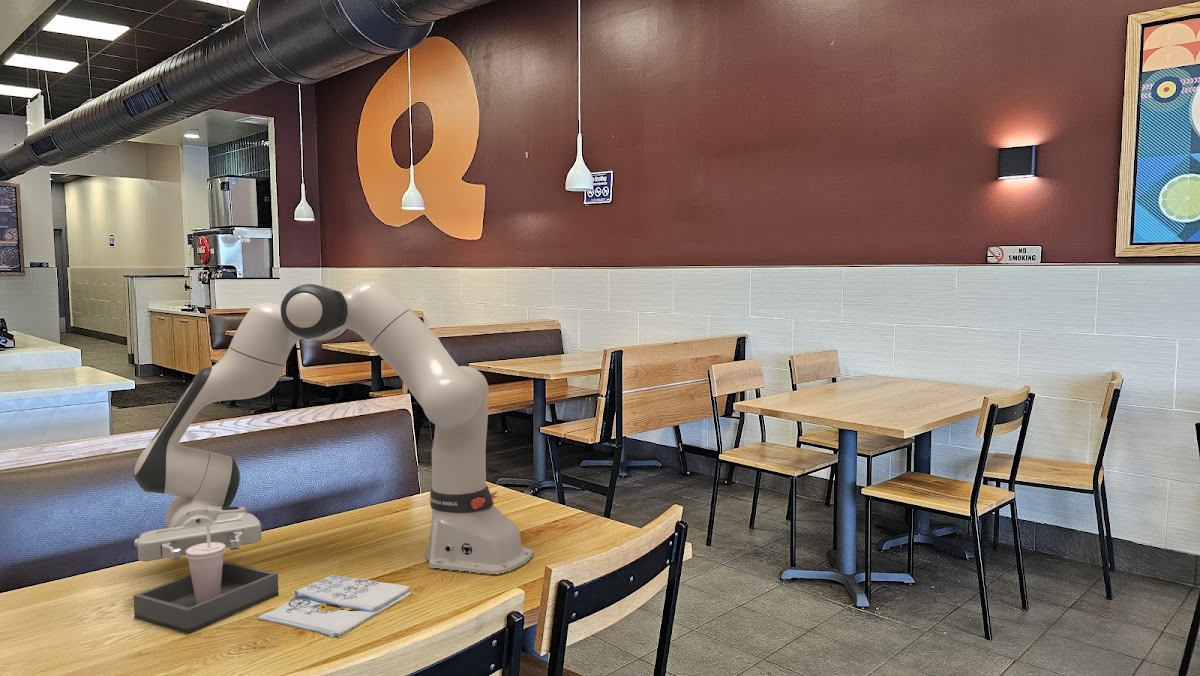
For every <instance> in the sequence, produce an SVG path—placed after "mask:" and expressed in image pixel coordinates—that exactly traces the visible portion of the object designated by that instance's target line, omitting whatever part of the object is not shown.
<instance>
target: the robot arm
mask: <svg viewBox="0 0 1200 676" xmlns="http://www.w3.org/2000/svg"><path fill="white" fill-rule="evenodd" d="M349 330H351V331H353V332H355V333H356V334H358V335H359V336H360V337H361V338H362V339H363V340H364V341H365V343H367V345H369V346H370V347H371V349H373V350H374V352H376V353H377V354H378V356H380V358H381V359H382V360H383V361H384V362H385V363H386V364H387V365H388V366H389V367H390V368H391V369H392V370H393V371H394V372H395V374H397V375H398V377H399V378H400V379H401V380H402V382H403V383H404V385H405V386H406V387H407V389H408V390H409V392H410V393H411V395H412V396H413V397H414V399H415V400H416V402H417V403H418V404H419V405H420V406H421V408H422V410H423V412H424V414H425V416H426V418H427V419H428V420H429V421H430V422H431V423H432V424H433V425H435V426H434V436H433V437H434V438H433V443H432V446H431V447H432V449H431V481H432V482H431V486H432V487H431V489H430V490H429V491H430V493H429V496H430V497H429V502H430V503H429V504H430V508H431V513H432V514H431V526H430V533H429V539H428V545H427V548H426V553H425V559H426V558H427V559H428V560H429V561H428V560H427V559H426V560H427V561H428V567H429V568H430V567H431V568H430V569H433V568H440V569H439V570H442V569H450V570H449V571H452V570H461V571H469V572H468V573H471V572H478V573H477V574H480V573H490V574H491V573H493V574H496V573H502V572H505V571H509V570H512V569H515V568H517V567H519V566H520V567H522V566H524V565H525V564H527V563H528V562H529V561H531V559H532V558H533V556H534V554H533V553H534V552H533V550H532V549H531V548H529V547H526V546H523V545H522V537H521V533H520V530H519V526H517V525H516V524H515V523H514V522H513V521H512V520H510V519H509V518H508V517H507V516H506V515H505V514H504V513H503V512H502V511H501V510H500V509H498V508H497V506H495V505H494V504H495V503H494V500H493V499H495V498H497V497H498V495H497V494H498V491H494V492H492V493H491V491H490V489H489V487H488V485H487V474H486V473H487V468H486V466H487V465H486V464H487V463H486V462H487V461H486V460H487V458H486V453H487V452H486V447H487V435H488V420H489V419H488V418H489V399H490V398H489V394H490V393H489V391H490V389H489V384H488V382H487V379H486V377H485V376H484V375H483V374H482V372H481V371H479V370H478V369H476V368H474V367H472V366H467V365H460V366H459V365H458V364H457V362H456V361H455V360H454V359H453V358H452V356H451V355H450V354H449V352H448V350H446V348H445V347H444V345H443V344H442V343H441V341H440V339H439V337H438V336H437V334H435V333H434V332H433V331H432V330H431V329H430V328H429V327H428V325H427V324H426V323H425V322H424V321H423V320H421V318H420V317H418V315H417V314H416V313H415V312H414V311H413V310H412V309H411V308H410V307H408V305H407V304H406V303H404V302H403V301H402V300H401V299H400V298H399V297H397V296H396V294H394V293H392V292H391V291H390V290H389V289H387V288H386V287H385V286H383V285H381V284H380V283H378V282H376V281H365V282H362V283H359V284H357V285H356V286H354V287H353V288H351V290H349V291H348V292H345V293H343V292H341V291H339V290H336V289H332V288H330V287H327V286H324V285H319V284H313V283H305V284H302V285H298V286H296V287H294V288H291V290H290V291H288V292H287V293H286V295H285V296H284V297H283V299H282V302H281V304H278V303H275V302H274V303H273V302H267V301H265V302H258V303H256V304H254V305H253V306H251V307H250V309H249V310H248V311H247V313H246V314H245V316H244V317H243V319H242V321H241V322H240V324H239V326H238V327H237V329H236V331H235V333H234V335H233V337H232V339H231V341H230V344H229V346H228V349H227V351H226V352H225V354H224V355H223V357H221V358H220V360H219V361H217V362H216V363H215V364H214V365H212V366H208V367H203V368H202V369H200V371H198V373H196V375H194V377H193V378H192V380H191V381H190V383H189V384H188V386H187V387H186V389H184V391H183V393H182V394H181V396H180V397H179V398H178V400H177V402H176V403H175V405H174V406H173V408H172V409H171V411H170V413H169V414H168V416H167V417H166V418H165V420H164V421H163V423H162V425H161V426H160V428H159V429H158V431H157V432H156V434H155V435H154V437H153V438H151V439H152V440H151V441H150V442H149V444H148V445H147V446H146V447H145V448H144V449H143V451H142V452H141V453H140V454H139V456H138V458H137V460H136V463H135V466H134V471H133V477H134V480H135V481H136V482H137V484H138V486H139V487H140V488H141V489H142V490H143V491H144V492H145V493H154V494H162V495H163V494H167V495H172V496H175V497H174V498H173V499H172V500H171V501H170V503H169V505H168V507H167V510H166V515H165V516H166V517H165V520H166V528H160V529H153V530H152V529H151V530H149V531H145V532H143V533H141V534H140V535H139V536H138V538H135V539H134V541H133V544H134V546H135V547H136V548H137V557H138V561H140V562H151V561H155V560H156V561H157V560H163V559H170V561H176V560H181V556H185V555H186V550H187V549H188V548H190V547H192V546H194V545H198V544H202V543H207V530H206V524H207V523H210V541H211V542H218V543H223V544H225V548H226V549H227V548H229V550H230V551H235V550H238V549H240V548H241V547H240V546H244V545H251V544H257V543H259V542H261V541H262V524H261V521H260V520H259V519H258V518H257V517H256V516H255V515H253V514H252V513H249V512H247V509H246V507H245V506H231V505H232V503H233V502H234V500H235V498H236V495H237V493H238V489H239V485H240V481H241V472H240V468H239V466H238V463H237V462H236V460H235V459H234V457H233V456H229V455H226V454H222V453H218V452H214V451H209V450H205V449H200V448H196V447H191V446H187V445H183V444H181V443H180V441H181V439H182V438H183V436H184V435H185V433H186V432H187V430H188V429H189V427H190V425H191V424H192V423H193V421H194V420H195V418H196V416H197V415H198V413H199V412H200V411H201V410H202V409H203V408H205V407H206V406H208V405H209V404H213V403H217V402H223V401H235V400H237V401H238V400H247V399H252V398H253V399H254V398H257V397H260V396H263V395H265V394H266V393H268V392H270V391H271V390H273V388H275V386H276V384H277V382H278V380H279V378H280V377H281V374H282V373H283V370H284V368H285V366H286V363H287V360H288V358H289V356H290V353H291V351H292V349H293V347H294V346H295V344H297V343H298V342H299V341H301V340H303V339H305V340H307V339H308V340H312V341H331V340H332V341H333V340H336V339H339V338H340V337H342V336H344V335H345V334H346V333H347V332H348V331H349ZM532 555H533V556H532ZM531 557H532V558H531ZM530 558H531V559H530ZM528 560H529V561H528ZM527 561H528V562H527ZM526 562H527V563H526ZM523 564H524V565H523ZM521 565H522V566H521ZM520 567H519V568H520ZM517 569H518V568H517ZM515 570H516V569H515ZM461 571H460V572H461ZM512 571H513V570H512ZM509 572H510V571H509ZM490 574H489V575H490Z"/></svg>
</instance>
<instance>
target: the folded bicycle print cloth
mask: <svg viewBox="0 0 1200 676" xmlns="http://www.w3.org/2000/svg"><path fill="white" fill-rule="evenodd" d="M410 589H411V586H408V585H402V584H398V583H392V582H391V583H390V582H382V581H376V580H369V579H364V578H357V577H348V576H343V575H338V574H331V575H328V576H325V577H324V578H321V579H319V580H318V581H315V582H313V583H310V584H308V585H306V586H304V587H301V588H298V589H297V590H294V596H293V597H292V598H291V599H289V602H287V603H284V604H282V605H280V606H278V607H276V608H274V609H273V610H270V611H269V612H265V613H263V614H260V615H259V616H257V620H258V621H262V622H269V623H274V624H279V625H283V626H286V627H287V626H288V627H292V628H297V629H301V630H304V629H305V631H309V630H310V632H314V631H315V632H314V633H318V632H319V634H320V633H321V635H323V634H325V635H324V636H327V635H329V636H328V637H330V638H331V637H333V638H336V637H335V636H338V637H337V638H339V636H341V635H343V634H344V633H346V632H347V631H348V630H350V629H352V628H353V627H355V626H357V625H359V624H360V623H362V622H363V621H365V620H367V619H369V618H371V617H372V618H374V617H375V616H374V615H376V614H378V613H380V612H381V613H383V612H384V611H383V610H385V609H387V608H388V609H390V608H391V607H390V606H392V605H394V604H395V603H397V602H399V601H400V600H402V599H403V598H405V597H407V596H408V595H410V594H412V593H413V592H411V591H409V590H410ZM324 603H325V604H328V605H327V606H336V605H337V607H338V608H340V607H343V608H342V609H344V608H350V609H354V610H355V609H358V611H346V610H339V609H336V610H337V611H321V610H320V607H319V606H320V605H321V604H324ZM399 603H400V602H399ZM397 604H398V603H397ZM395 605H396V604H395ZM395 605H394V606H395ZM389 607H390V608H389ZM392 607H393V606H392ZM388 609H387V610H388ZM382 611H383V612H382ZM385 611H386V610H385ZM381 613H380V614H381ZM378 615H379V614H378ZM373 616H374V617H373ZM376 616H377V615H376ZM372 618H371V619H372ZM369 620H370V619H369ZM367 621H368V620H367ZM365 622H366V621H365ZM362 624H363V623H362ZM360 625H361V624H360ZM360 625H359V626H360ZM357 627H358V626H357ZM355 628H356V627H355ZM352 630H353V629H352ZM350 631H351V630H350ZM347 633H348V632H347ZM347 633H346V634H347ZM344 635H345V634H344ZM344 635H343V636H344ZM341 637H342V636H341Z"/></svg>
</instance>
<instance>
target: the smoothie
mask: <svg viewBox="0 0 1200 676" xmlns="http://www.w3.org/2000/svg"><path fill="white" fill-rule="evenodd" d="M206 530H207V543H202V544H198V545H194V546H192V547H190V548H188V549H187V550H186V555H184V556H185V558H186V559H187V560H188V567H189V572H190V575H191V578H192V583H193V589H194V594H195V599H196V604H199V603H202V602H204V601H207V600H209V599H212V598H214V597H217V596H219V595H220V589H221V579H222V568H223V562H224V555H225V553H226V551H227V550H226V549H227V548H225V544H223V543H218V542H211V541H210V523H207V524H206Z"/></svg>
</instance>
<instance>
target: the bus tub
mask: <svg viewBox="0 0 1200 676" xmlns="http://www.w3.org/2000/svg"><path fill="white" fill-rule="evenodd" d="M279 593H280V592H279V573H276V572H272V571H268V570H263V569H259V568H255V567H251V566H246V565H242V564H239V563H234V562H231V561H223V568H222V579H221V589H220V595H219V596H217V597H214V598H212V599H209V600H207V601H204V602H202V603H199V604H196V599H195V594H194V589H193V583H192V578H191V574H188V575H185V576H183V577H180V578H177V579H175V580H172V581H169V582H167V583H164V584H162V585H161V584H160V585H158V586H155V587H153V588H150V589H148V590H145V591H142V592H141V591H140V592H139V593H136V594H133V596H132V597H133V610H134V611H133V615H134V617H133V618H134V619H135V620H138V621H142V622H147V623H149V624H153V625H156V626H158V627H162V628H166V629H169V630H173V631H175V632H178V633H181V634H186V635H190V634H193V633H195V632H198V631H200V630H202V629H205V628H206V627H209V626H210V625H213V624H216V623H218V622H220V621H222V620H225V619H227V618H230V617H232V616H234V615H236V614H238V613H241V612H243V611H246V610H247V609H249V608H252V607H254V606H257V605H259V604H261V603H264V602H266V601H268V600H271V599H272V598H274V597H277V596H279Z"/></svg>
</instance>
